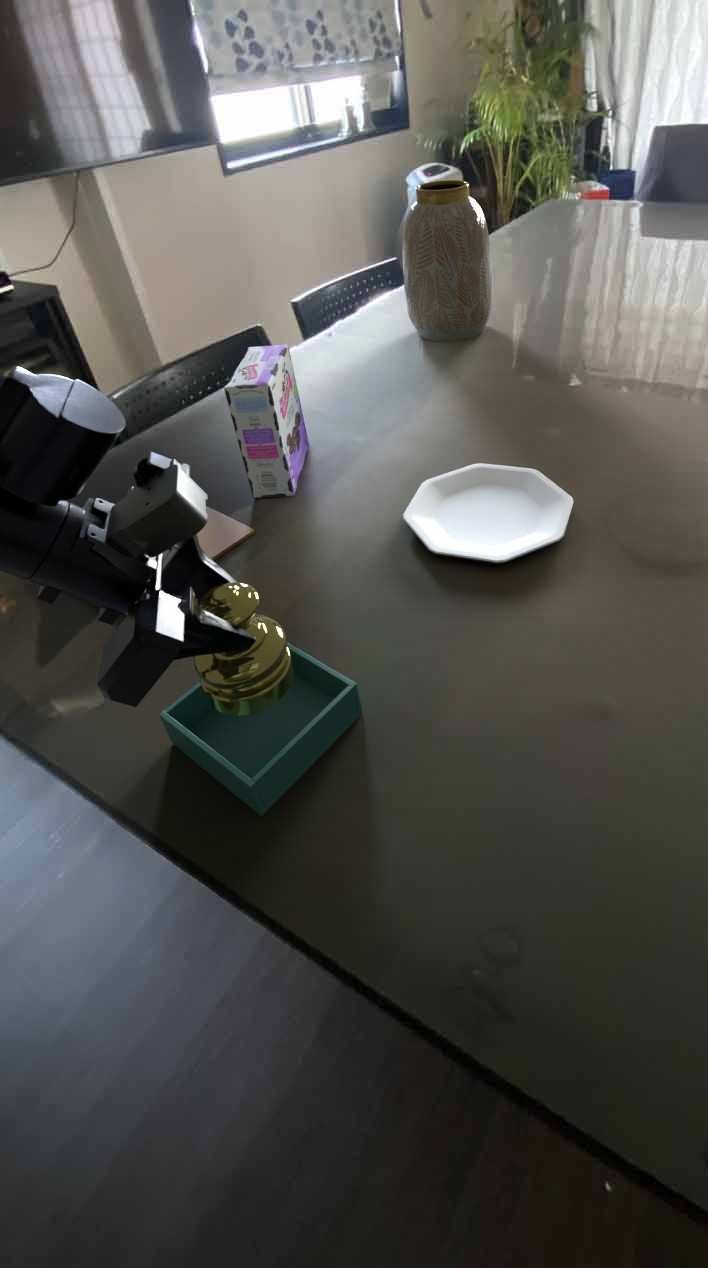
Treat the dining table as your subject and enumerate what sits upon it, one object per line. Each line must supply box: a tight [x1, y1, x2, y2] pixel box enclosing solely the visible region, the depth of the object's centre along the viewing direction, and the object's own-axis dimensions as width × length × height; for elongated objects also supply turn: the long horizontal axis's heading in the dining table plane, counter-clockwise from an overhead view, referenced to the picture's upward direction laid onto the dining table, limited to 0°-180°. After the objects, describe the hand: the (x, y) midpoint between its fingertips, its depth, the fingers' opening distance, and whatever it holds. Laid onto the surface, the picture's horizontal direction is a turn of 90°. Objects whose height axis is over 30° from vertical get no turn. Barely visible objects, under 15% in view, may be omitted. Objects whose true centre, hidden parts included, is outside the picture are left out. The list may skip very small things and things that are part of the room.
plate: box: [402, 462, 574, 565], centre depth 84 cm, size 20×20×2 cm
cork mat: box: [121, 506, 256, 617], centre depth 83 cm, size 18×14×1 cm
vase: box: [402, 179, 494, 342], centre depth 130 cm, size 17×17×27 cm
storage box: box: [158, 642, 364, 817], centre depth 60 cm, size 12×12×4 cm
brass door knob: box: [192, 581, 294, 716], centre depth 54 cm, size 7×7×10 cm
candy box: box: [224, 343, 310, 499], centre depth 93 cm, size 14×6×16 cm, turn 179°
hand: (250, 621), depth 54 cm, fingers closed on brass door knob, 5 cm apart
